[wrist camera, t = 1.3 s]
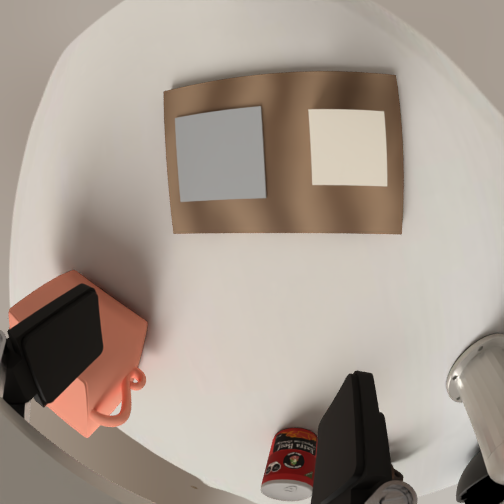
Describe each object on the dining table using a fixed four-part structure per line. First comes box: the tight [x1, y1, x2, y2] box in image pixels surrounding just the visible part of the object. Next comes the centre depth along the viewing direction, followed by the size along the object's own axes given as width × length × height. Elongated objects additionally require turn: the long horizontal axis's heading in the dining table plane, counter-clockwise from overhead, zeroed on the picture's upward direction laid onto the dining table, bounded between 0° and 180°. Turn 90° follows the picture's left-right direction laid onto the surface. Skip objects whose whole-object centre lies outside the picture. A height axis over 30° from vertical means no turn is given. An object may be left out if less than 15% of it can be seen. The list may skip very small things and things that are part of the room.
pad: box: [175, 106, 267, 202], centre depth 27 cm, size 9×9×1 cm
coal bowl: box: [456, 451, 504, 504], centre depth 24 cm, size 20×20×19 cm
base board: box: [164, 71, 404, 234], centre depth 26 cm, size 24×16×2 cm, turn 93°
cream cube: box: [308, 109, 387, 187], centre depth 22 cm, size 6×6×5 cm
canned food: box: [261, 428, 318, 501], centre depth 34 cm, size 8×8×11 cm
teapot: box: [9, 270, 148, 438], centre depth 33 cm, size 25×23×18 cm
